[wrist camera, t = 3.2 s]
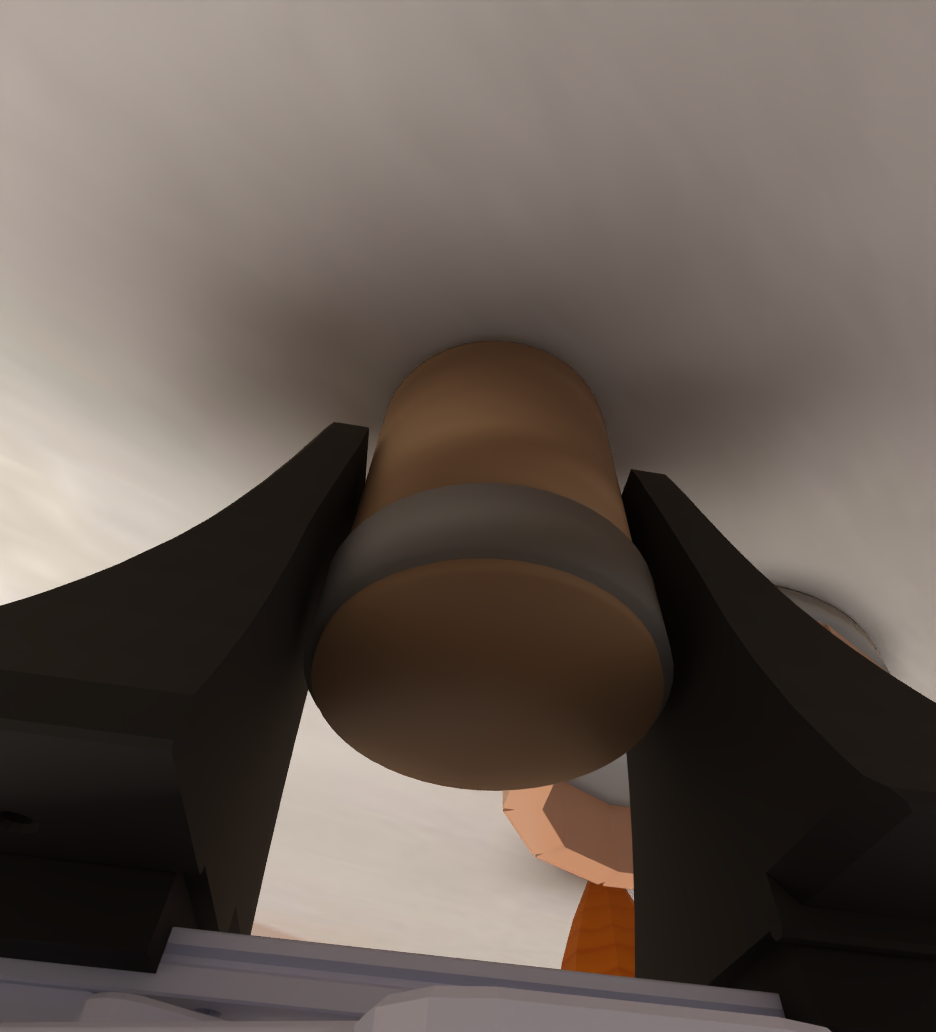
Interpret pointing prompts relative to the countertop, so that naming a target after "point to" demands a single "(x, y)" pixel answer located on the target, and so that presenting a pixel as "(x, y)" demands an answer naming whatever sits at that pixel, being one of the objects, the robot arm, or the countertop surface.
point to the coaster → (620, 792)
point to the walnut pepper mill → (490, 585)
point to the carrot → (602, 933)
